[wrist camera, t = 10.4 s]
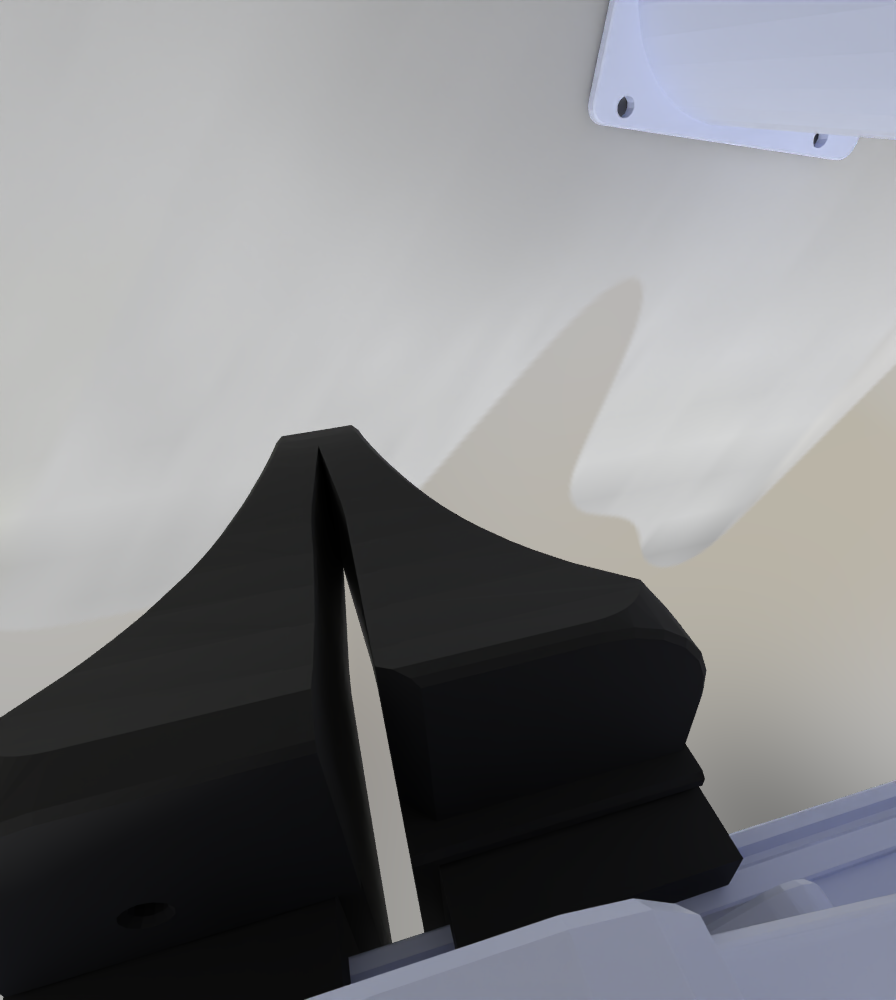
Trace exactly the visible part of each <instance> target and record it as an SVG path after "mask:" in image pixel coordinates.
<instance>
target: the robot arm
mask: <svg viewBox="0 0 896 1000" xmlns="http://www.w3.org/2000/svg"><path fill="white" fill-rule="evenodd" d="M623 97H625V98H626V100H627V110H626V112H625V114H624V115H622V116H621V117H620V116H619V114H618V112H617V105H618V103H619V101H620V99H622V98H623ZM588 111H589V115H590V118H591V119H592V120H593V122H594V123H597V124H599V125H604V126H610V127H617V128H624V129H630V130H637V131H644V132H650V133H657V134H664V135H670V136H677V137H684V138H690V139H697V140H704V141H710V142H717V143H724V144H730V145H737V146H744V147H750V148H757V149H764V150H770V151H777V152H784V153H790V154H797V155H804V156H810V157H817V158H824V159H831V160H842V159H844V158H845V157H847V156H848V155H849V154H850V153H851V152H852V151H853V149H854V147H855V145H856V144H857V141H858V139H859V137H867V138H880V139H892V140H896V0H610V2H609V7H608V11H607V16H606V21H605V26H604V31H603V35H602V40H601V45H600V50H599V54H598V59H597V64H596V69H595V74H594V78H593V83H592V88H591V93H590V98H589V104H588ZM816 133H818V134H819V136H818V140H817V141H816V143H815V144H813V140H814V137H815V135H816ZM343 568H344V570H343ZM344 571H345V575H346V578H347V581H348V585H349V589H350V592H351V595H352V599H353V602H354V605H355V609H356V612H357V615H358V619H359V622H360V626H361V629H362V632H363V636H364V639H365V642H366V646H367V649H368V653H369V656H370V659H371V663H372V666H373V670H374V674H375V678H376V682H377V687H378V691H379V697H380V702H381V707H382V712H383V718H384V723H385V728H386V733H387V739H388V744H389V749H390V754H391V760H392V765H393V770H394V775H395V781H396V786H397V791H398V796H399V801H400V807H401V812H402V817H403V822H404V828H405V833H406V838H407V843H408V848H409V853H410V858H411V864H412V869H413V875H414V880H415V885H416V890H417V896H418V901H419V906H420V912H421V917H422V922H423V927H424V933H422V934H419V935H416V936H413V937H410V938H407V939H404V940H400V941H398V942H394V943H392V940H391V934H390V928H389V922H388V916H387V910H386V905H385V898H384V893H383V886H382V880H381V875H380V869H379V862H378V856H377V850H376V844H375V838H374V832H373V826H372V819H371V814H370V808H369V801H368V795H367V789H366V782H365V776H364V770H363V764H362V758H361V751H360V746H359V739H358V733H357V726H356V720H355V714H354V707H353V701H352V695H351V686H350V675H349V660H348V642H347V623H346V605H345V589H344V588H345V587H344ZM705 675H706V667H705V664H704V660H703V657H702V653H701V651H700V650H699V649H698V647H697V646H696V645H695V644H694V642H693V641H692V640H691V638H690V637H689V636H688V634H687V633H686V632H685V631H684V629H683V628H682V627H681V625H680V624H679V623H678V621H677V620H676V619H675V618H674V616H673V615H672V614H671V613H670V612H669V610H668V609H667V608H666V607H665V606H664V605H663V604H662V603H661V602H660V600H659V599H658V598H657V597H656V596H655V595H654V594H653V593H652V592H651V591H650V590H649V589H648V588H647V587H646V586H645V584H644V583H643V582H642V581H641V580H639V579H635V578H631V577H627V576H623V575H619V574H615V573H611V572H607V571H603V570H599V569H595V568H590V567H587V566H583V565H579V564H575V563H572V562H568V561H565V560H562V559H559V558H556V557H553V556H550V555H547V554H544V553H541V552H538V551H535V550H532V549H530V548H527V547H524V546H522V545H520V544H517V543H514V542H512V541H509V540H507V539H505V538H503V537H501V536H498V535H496V534H494V533H492V532H489V531H487V530H485V529H483V528H481V527H479V526H477V525H475V524H473V523H471V522H469V521H467V520H465V519H463V518H462V517H460V516H458V515H457V514H455V513H453V512H451V511H450V510H448V509H447V508H445V507H443V506H442V505H440V504H439V503H437V502H436V501H434V500H433V499H431V498H430V497H429V496H427V495H426V494H425V493H423V492H422V491H421V490H419V489H418V488H417V487H415V486H414V485H413V484H412V483H411V482H409V481H408V480H407V479H406V478H404V477H403V476H402V475H401V474H400V473H399V472H398V471H397V470H395V469H394V468H393V467H392V466H391V465H390V464H389V463H388V462H387V461H386V460H385V459H384V458H382V457H381V456H380V455H379V454H378V452H377V451H376V450H375V449H374V448H373V447H372V446H371V445H370V444H369V443H368V442H367V441H366V439H365V438H364V437H363V436H362V434H361V433H360V432H359V430H357V429H356V428H355V427H353V426H352V425H349V426H343V427H337V428H331V429H325V430H319V431H312V432H306V433H300V434H294V435H288V436H282V437H281V438H280V439H279V441H278V442H277V443H276V445H275V448H274V450H273V452H272V454H271V456H270V458H269V460H268V462H267V464H266V466H265V468H264V470H263V472H262V473H261V475H260V477H259V479H258V480H257V482H256V484H255V485H254V487H253V489H252V490H251V492H250V494H249V496H248V497H247V499H246V500H245V502H244V504H243V505H242V507H241V508H240V509H239V511H238V512H237V514H236V515H235V517H234V518H233V519H232V521H231V522H230V524H229V525H228V526H227V528H226V529H225V531H224V532H223V533H222V535H221V536H220V537H219V539H218V540H217V541H216V542H215V544H214V545H213V546H212V547H211V549H210V550H209V551H208V552H207V553H206V554H205V555H204V557H203V558H202V559H201V560H200V561H199V562H198V563H197V564H196V565H195V566H194V568H193V569H192V570H191V571H190V572H189V573H188V574H187V575H186V576H185V577H184V578H183V579H182V580H181V581H179V582H178V583H177V584H176V585H175V586H174V587H173V588H172V589H171V590H170V591H169V592H168V593H166V594H165V595H164V596H163V597H162V598H161V599H160V600H159V601H158V602H157V603H156V604H155V605H154V606H152V607H151V608H150V609H149V610H148V611H147V612H146V613H145V614H144V615H143V616H141V617H140V618H139V619H138V620H137V621H135V622H134V623H133V624H132V625H130V626H129V627H128V628H127V629H126V630H124V631H123V632H122V633H121V634H119V635H118V636H117V637H116V638H114V639H113V640H112V641H111V642H109V643H108V644H106V645H105V646H104V647H102V648H101V649H100V650H99V651H97V652H96V653H95V654H93V655H92V656H91V657H90V658H88V659H87V660H85V661H84V662H83V663H81V664H80V665H78V666H77V667H75V668H74V669H73V670H71V671H70V672H68V673H67V674H66V675H64V676H63V677H61V678H60V679H58V680H57V681H55V682H54V683H52V684H51V685H49V686H48V687H46V688H45V689H43V690H42V691H40V692H38V693H37V694H35V695H34V696H32V697H31V698H29V699H28V700H26V701H25V702H23V703H22V704H20V705H19V706H17V707H16V708H14V709H13V710H11V711H10V712H8V713H7V714H5V715H4V716H2V717H0V995H2V996H3V997H4V998H3V1000H896V780H894V781H891V782H888V783H885V784H882V785H879V786H876V787H873V788H869V789H866V790H864V791H861V792H857V793H854V794H851V795H848V796H845V797H842V798H839V799H835V800H832V801H829V802H826V803H823V804H820V805H817V806H814V807H811V808H808V809H805V810H802V811H798V812H796V813H792V814H789V815H786V816H783V817H780V818H777V819H774V820H771V821H768V822H765V823H762V824H758V825H756V826H752V827H749V828H746V829H743V830H740V831H737V832H734V833H731V834H728V833H727V831H726V830H725V828H724V826H723V825H722V823H721V822H720V820H719V818H718V817H717V815H716V814H715V812H714V810H713V809H712V807H711V805H710V804H709V802H708V801H707V799H706V797H705V796H704V794H703V793H702V791H701V789H700V788H699V786H702V785H703V782H704V780H705V778H704V774H703V771H702V769H701V767H700V766H699V764H698V763H697V761H696V759H695V758H694V756H693V755H692V753H691V752H690V750H689V749H688V747H687V746H686V744H685V743H686V740H687V737H688V734H689V731H690V728H691V725H692V723H693V720H694V717H695V714H696V711H697V708H698V705H699V702H700V699H701V696H702V692H703V688H704V681H705Z"/></svg>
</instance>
